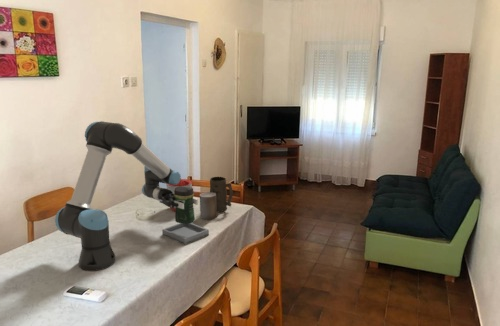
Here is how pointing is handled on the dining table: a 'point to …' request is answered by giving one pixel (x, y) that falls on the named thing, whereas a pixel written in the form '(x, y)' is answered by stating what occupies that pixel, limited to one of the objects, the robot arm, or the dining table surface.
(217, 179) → the beer stein
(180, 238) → the tray
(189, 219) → the coffee jar
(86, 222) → the robot arm
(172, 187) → the citrus juicer
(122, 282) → the dining table surface
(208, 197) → the pillar candle
